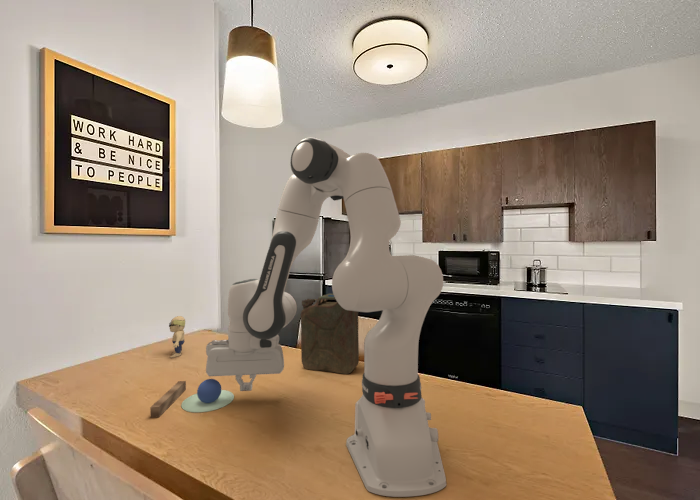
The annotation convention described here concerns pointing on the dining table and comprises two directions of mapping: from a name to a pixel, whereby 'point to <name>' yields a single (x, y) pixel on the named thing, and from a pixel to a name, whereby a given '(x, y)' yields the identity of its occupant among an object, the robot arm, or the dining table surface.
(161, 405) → the brown bar
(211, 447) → the dining table surface
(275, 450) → the dining table surface
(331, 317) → the canister
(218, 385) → the ball
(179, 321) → the toy
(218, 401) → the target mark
